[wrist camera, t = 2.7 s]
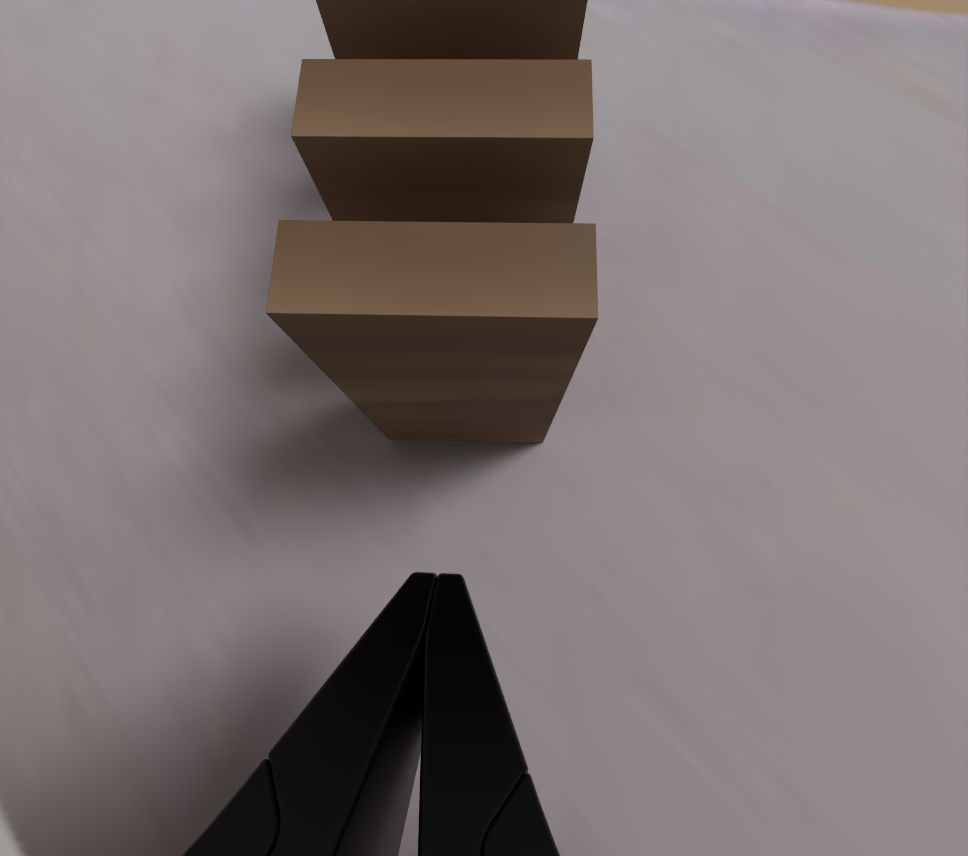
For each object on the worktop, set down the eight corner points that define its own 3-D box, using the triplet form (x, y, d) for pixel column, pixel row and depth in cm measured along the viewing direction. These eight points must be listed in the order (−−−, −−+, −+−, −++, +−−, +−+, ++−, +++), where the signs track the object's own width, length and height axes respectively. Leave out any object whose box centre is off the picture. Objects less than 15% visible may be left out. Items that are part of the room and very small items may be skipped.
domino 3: (542, 265, 18) (589, -12, 9) (402, 263, 18) (312, -11, 9) (542, 225, 18) (587, -78, 9) (404, 224, 18) (321, -76, 9)
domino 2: (542, 350, 17) (593, 137, 8) (395, 347, 17) (290, 136, 8) (542, 306, 17) (591, 59, 9) (399, 304, 17) (301, 59, 9)
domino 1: (542, 442, 16) (598, 318, 7) (389, 439, 16) (266, 312, 8) (542, 395, 17) (595, 224, 8) (392, 392, 17) (278, 220, 8)
